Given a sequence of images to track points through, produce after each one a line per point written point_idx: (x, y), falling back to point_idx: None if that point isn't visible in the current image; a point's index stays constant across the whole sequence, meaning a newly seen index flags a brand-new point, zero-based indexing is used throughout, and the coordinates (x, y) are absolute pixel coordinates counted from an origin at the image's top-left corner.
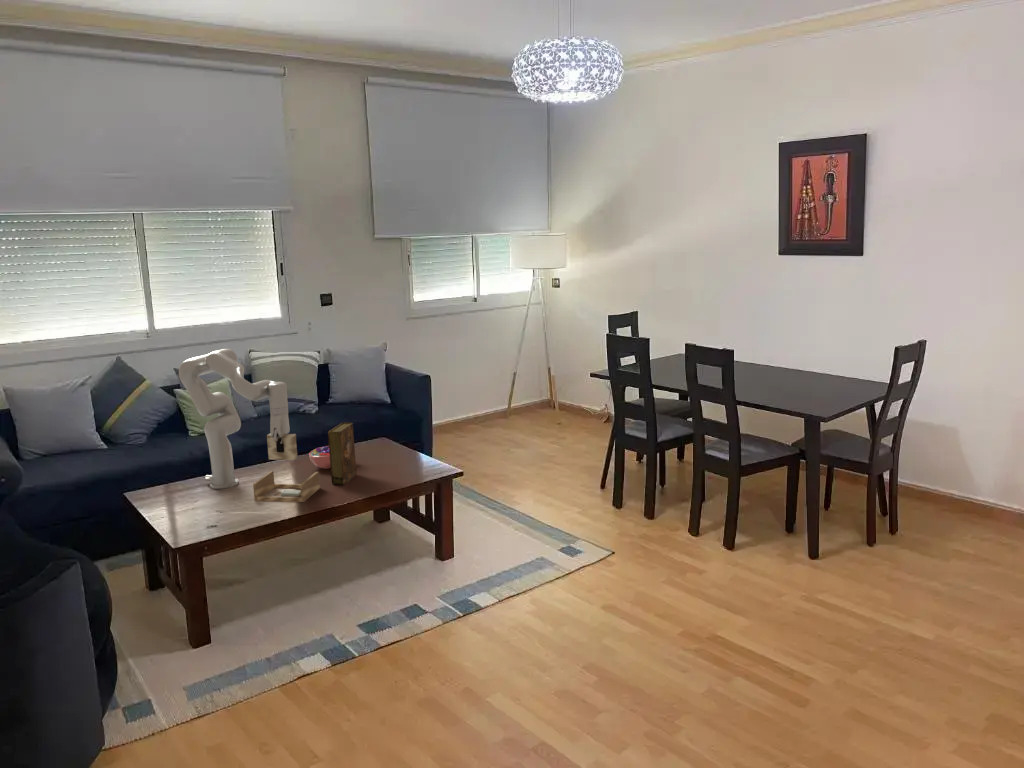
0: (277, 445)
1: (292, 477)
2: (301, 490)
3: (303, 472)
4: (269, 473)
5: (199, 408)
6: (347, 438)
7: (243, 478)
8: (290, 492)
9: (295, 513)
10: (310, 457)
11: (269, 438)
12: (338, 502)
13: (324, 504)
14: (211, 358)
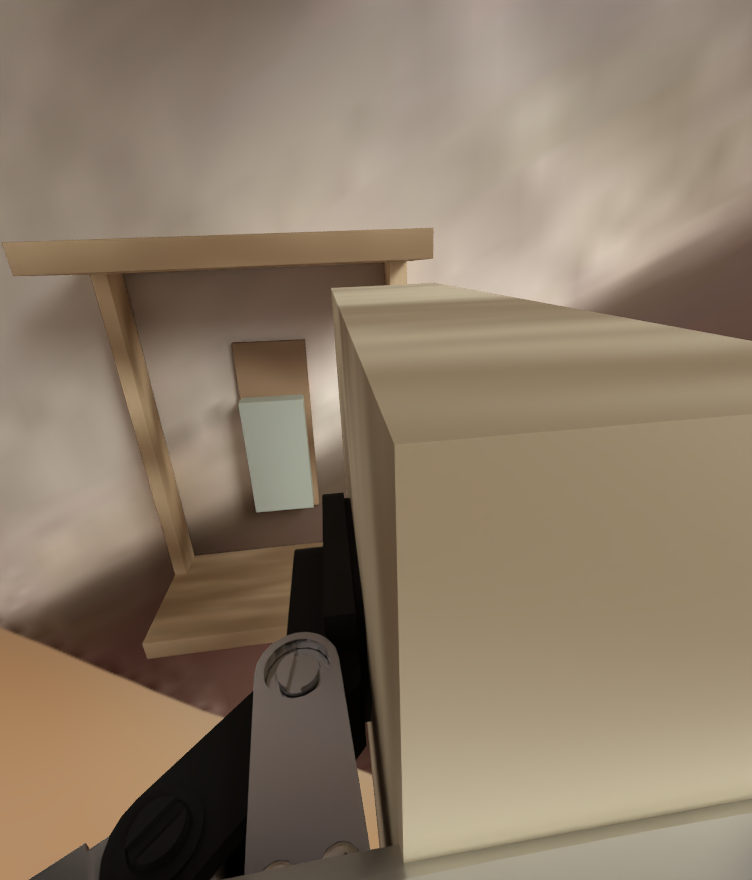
0: (287, 631)
1: (613, 284)
2: (159, 615)
3: (704, 313)
4: (351, 259)
5: None
6: None
7: None
8: (265, 459)
9: (25, 600)
10: None
11: (366, 508)
12: (237, 695)
13: (194, 659)
14: None
